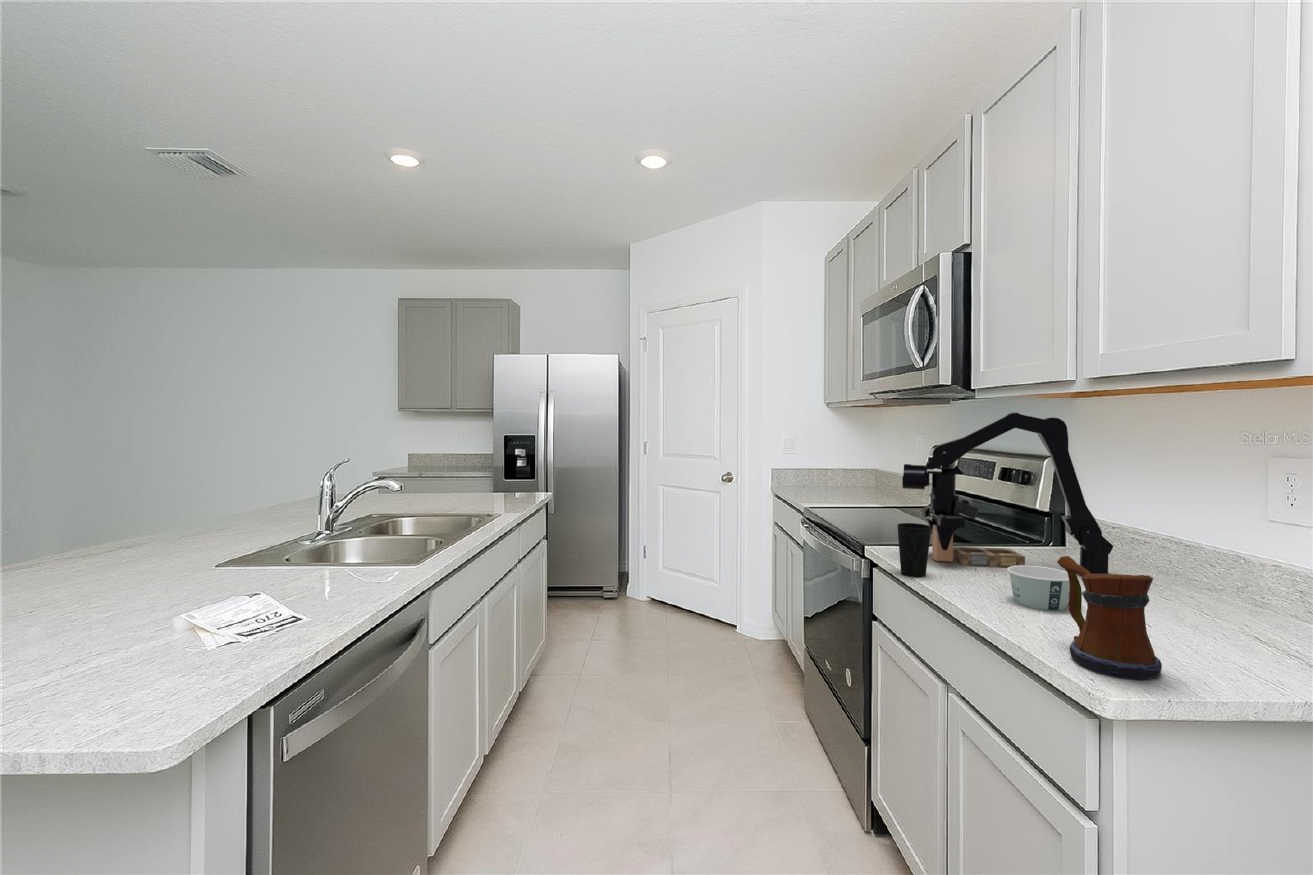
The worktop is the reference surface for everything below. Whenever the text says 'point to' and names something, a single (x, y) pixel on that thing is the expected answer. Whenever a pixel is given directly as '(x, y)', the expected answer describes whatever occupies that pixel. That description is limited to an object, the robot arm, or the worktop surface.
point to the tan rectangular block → (938, 551)
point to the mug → (1111, 623)
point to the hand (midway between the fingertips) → (942, 548)
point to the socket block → (987, 557)
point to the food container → (1040, 587)
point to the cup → (913, 548)
